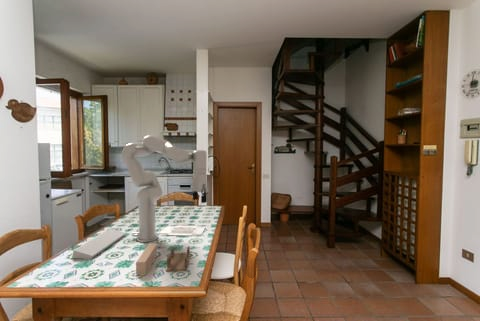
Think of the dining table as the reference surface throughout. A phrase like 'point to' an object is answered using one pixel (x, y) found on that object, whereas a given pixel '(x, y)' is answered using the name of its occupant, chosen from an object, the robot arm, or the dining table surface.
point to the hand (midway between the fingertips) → (199, 201)
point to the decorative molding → (98, 244)
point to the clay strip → (146, 259)
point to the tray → (183, 230)
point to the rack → (178, 261)
